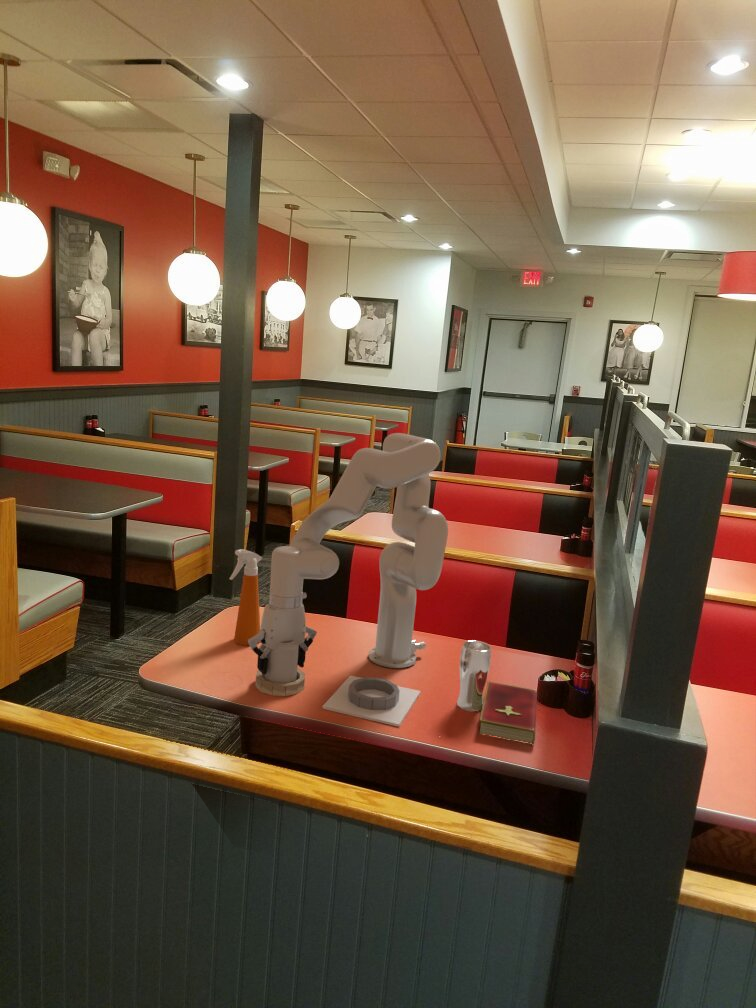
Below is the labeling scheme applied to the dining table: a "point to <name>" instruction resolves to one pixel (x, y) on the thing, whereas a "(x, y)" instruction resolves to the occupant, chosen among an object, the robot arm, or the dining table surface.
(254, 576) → the spray bottle
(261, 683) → the stand ring
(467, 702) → the silver tumbler
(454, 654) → the dining table surface
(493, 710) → the hardcover book
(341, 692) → the holder
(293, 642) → the can
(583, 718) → the dining table surface
